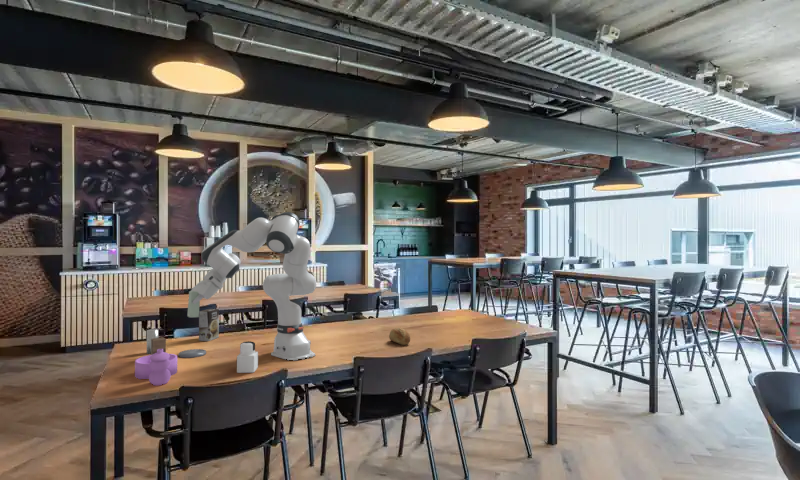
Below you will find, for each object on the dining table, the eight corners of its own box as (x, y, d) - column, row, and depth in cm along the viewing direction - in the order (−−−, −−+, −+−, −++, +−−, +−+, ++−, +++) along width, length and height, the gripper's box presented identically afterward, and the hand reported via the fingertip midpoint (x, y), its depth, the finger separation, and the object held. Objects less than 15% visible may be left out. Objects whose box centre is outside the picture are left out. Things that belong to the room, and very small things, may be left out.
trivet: (209, 355, 209) (209, 352, 209) (182, 359, 201) (182, 357, 201) (201, 349, 218) (201, 347, 218) (175, 353, 210) (175, 351, 210)
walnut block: (165, 358, 203) (165, 339, 203) (153, 360, 199) (153, 340, 199) (163, 356, 207) (163, 337, 206) (151, 358, 203) (151, 338, 203)
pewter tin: (159, 353, 212) (159, 330, 212) (147, 354, 209) (147, 331, 208) (157, 350, 216) (157, 328, 215) (145, 352, 212) (145, 329, 212)
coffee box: (209, 341, 236) (209, 311, 235) (198, 340, 237) (198, 310, 237) (219, 337, 245) (219, 308, 244) (209, 336, 246) (209, 308, 246)
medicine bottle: (241, 367, 190) (241, 340, 190) (258, 367, 191) (258, 340, 191) (236, 373, 183) (236, 344, 183) (253, 372, 184) (254, 344, 183)
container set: (133, 372, 183) (134, 340, 183) (174, 366, 191) (174, 336, 191) (137, 390, 162) (137, 354, 162) (183, 382, 171) (183, 349, 171)
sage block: (198, 317, 209) (200, 292, 210) (189, 317, 207) (191, 292, 207) (196, 315, 212) (198, 291, 213) (187, 316, 210) (189, 291, 210)
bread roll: (399, 347, 229) (399, 332, 228) (384, 341, 241) (384, 326, 241) (414, 345, 234) (414, 330, 234) (399, 339, 246) (399, 325, 246)
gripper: (201, 275, 222) (180, 295, 215) (214, 278, 206) (192, 300, 200) (210, 283, 225) (190, 304, 218) (224, 287, 209) (202, 309, 203)
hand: (191, 302), depth 209 cm, fingers closed on sage block, 4 cm apart
